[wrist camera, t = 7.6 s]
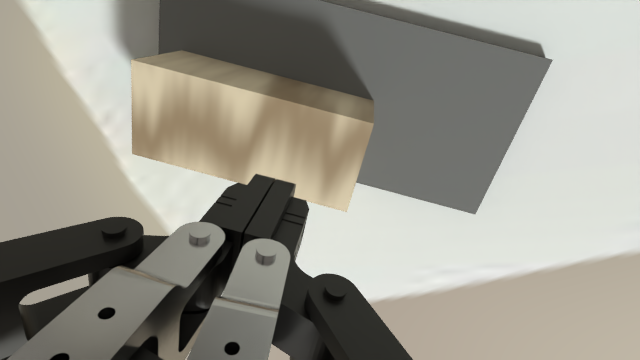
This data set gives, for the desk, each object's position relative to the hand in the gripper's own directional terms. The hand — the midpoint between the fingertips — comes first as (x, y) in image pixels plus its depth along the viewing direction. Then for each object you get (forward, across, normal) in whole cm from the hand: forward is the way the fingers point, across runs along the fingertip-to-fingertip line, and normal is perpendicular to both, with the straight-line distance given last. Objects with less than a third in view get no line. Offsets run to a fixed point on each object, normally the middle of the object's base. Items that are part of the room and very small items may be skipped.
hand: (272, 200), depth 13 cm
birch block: (+8, -3, 0) cm, 8 cm away
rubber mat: (+11, -1, -2) cm, 11 cm away
